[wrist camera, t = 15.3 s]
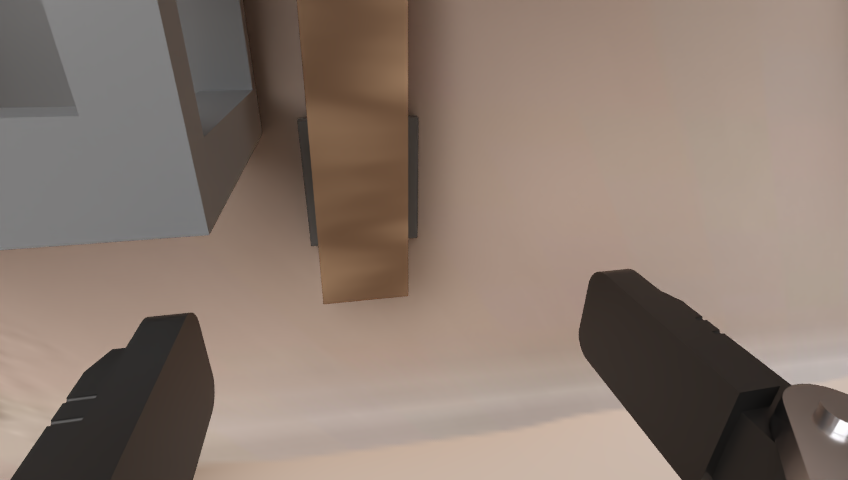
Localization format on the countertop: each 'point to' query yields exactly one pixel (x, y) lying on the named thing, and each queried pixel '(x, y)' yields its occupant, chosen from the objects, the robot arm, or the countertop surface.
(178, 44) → the breaker guard
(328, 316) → the countertop surface
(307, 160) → the stylus pad
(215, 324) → the countertop surface
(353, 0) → the wooden block
